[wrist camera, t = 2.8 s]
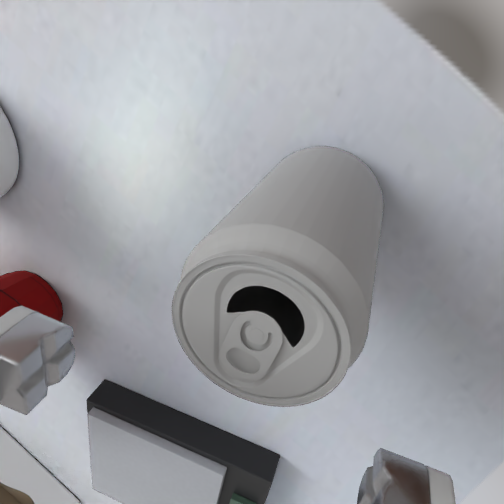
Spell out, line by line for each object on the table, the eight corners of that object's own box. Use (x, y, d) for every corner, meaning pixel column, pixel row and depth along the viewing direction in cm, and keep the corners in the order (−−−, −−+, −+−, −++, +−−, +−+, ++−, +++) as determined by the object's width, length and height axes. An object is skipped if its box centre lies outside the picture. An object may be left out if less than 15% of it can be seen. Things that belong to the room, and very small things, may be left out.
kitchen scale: (280, 455, 33) (269, 492, 30) (253, 529, 40) (241, 566, 37) (104, 378, 36) (79, 406, 33) (106, 459, 43) (86, 488, 40)
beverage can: (408, 175, 20) (413, 316, 10) (348, 271, 23) (306, 447, 13) (294, 121, 20) (187, 201, 10) (252, 222, 24) (142, 355, 14)
